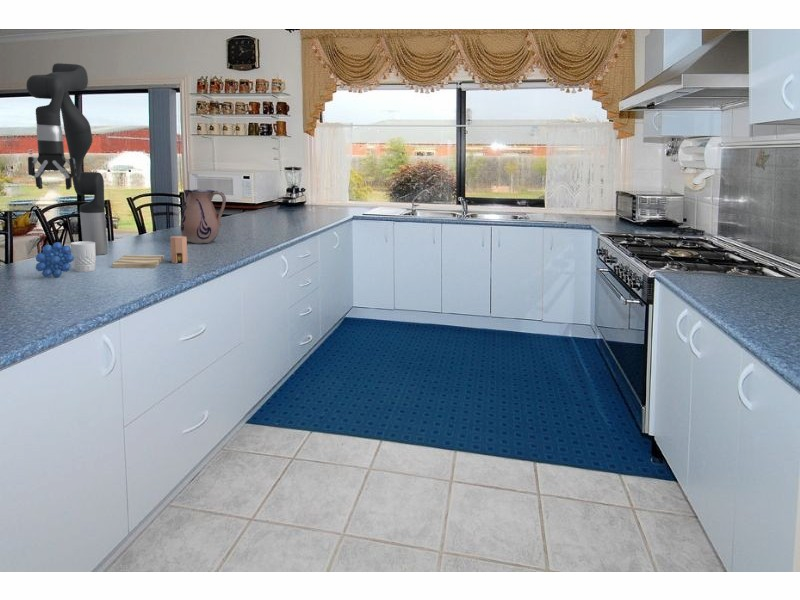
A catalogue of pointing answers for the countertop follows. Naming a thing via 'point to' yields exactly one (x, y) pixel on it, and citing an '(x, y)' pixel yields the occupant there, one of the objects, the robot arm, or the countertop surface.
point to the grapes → (54, 260)
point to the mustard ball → (179, 257)
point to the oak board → (138, 261)
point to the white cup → (84, 256)
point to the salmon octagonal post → (178, 248)
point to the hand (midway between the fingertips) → (54, 189)
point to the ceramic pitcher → (201, 216)
